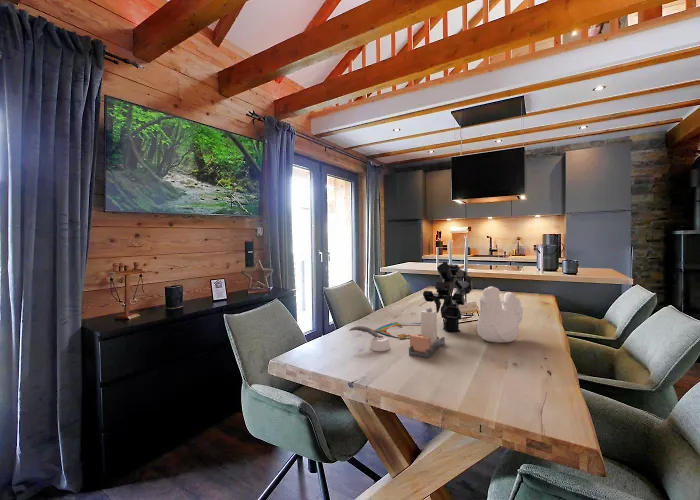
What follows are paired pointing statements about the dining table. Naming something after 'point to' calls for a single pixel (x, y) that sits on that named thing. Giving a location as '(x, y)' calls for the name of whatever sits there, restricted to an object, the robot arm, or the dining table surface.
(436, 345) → the rail
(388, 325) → the ribbon cable
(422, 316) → the block
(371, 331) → the inkwell
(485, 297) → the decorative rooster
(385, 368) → the dining table surface
